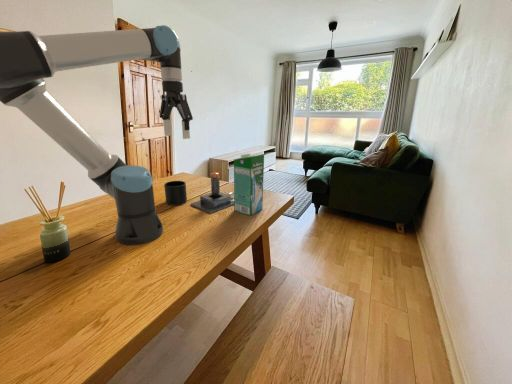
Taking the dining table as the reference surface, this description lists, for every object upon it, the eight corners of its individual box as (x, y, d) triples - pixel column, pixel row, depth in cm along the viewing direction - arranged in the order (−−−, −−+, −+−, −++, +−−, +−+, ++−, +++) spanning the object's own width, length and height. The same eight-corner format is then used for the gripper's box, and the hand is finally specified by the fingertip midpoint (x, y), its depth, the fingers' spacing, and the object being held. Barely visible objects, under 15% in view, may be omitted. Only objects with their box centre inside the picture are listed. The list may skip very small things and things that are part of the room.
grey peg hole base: (210, 213, 104) (209, 205, 103) (190, 205, 113) (190, 197, 111) (245, 200, 120) (245, 192, 119) (226, 193, 129) (226, 186, 127)
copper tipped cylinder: (213, 204, 112) (212, 174, 108) (210, 201, 115) (209, 172, 111) (221, 202, 114) (220, 173, 109) (218, 200, 117) (217, 171, 113)
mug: (191, 197, 123) (190, 179, 120) (182, 206, 111) (180, 187, 108) (173, 196, 124) (172, 178, 121) (162, 204, 112) (160, 186, 109)
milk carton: (246, 204, 115) (247, 151, 107) (262, 209, 110) (264, 153, 102) (234, 210, 108) (233, 153, 100) (250, 215, 103) (251, 156, 95)
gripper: (200, 80, 90) (203, 139, 97) (164, 83, 105) (168, 133, 112) (182, 78, 84) (186, 140, 91) (147, 81, 100) (153, 135, 107)
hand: (176, 137), depth 102 cm, fingers open, 13 cm apart
